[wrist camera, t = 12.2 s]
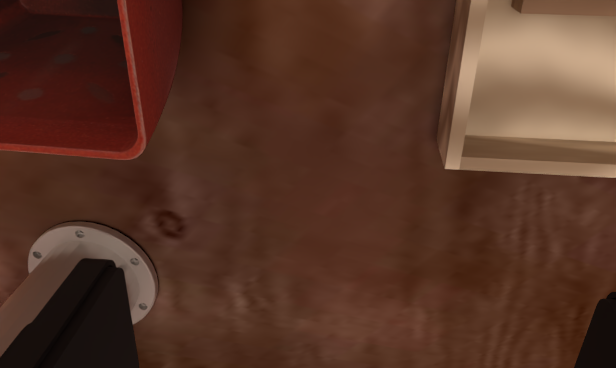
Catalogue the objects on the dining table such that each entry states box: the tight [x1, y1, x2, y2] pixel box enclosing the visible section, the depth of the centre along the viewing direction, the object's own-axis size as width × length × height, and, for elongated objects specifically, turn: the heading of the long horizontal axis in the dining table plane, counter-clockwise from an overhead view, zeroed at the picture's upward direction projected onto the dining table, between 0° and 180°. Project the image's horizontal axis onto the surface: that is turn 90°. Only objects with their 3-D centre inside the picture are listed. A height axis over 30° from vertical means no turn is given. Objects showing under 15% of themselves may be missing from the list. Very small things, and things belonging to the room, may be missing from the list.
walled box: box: [436, 0, 616, 178], centre depth 34 cm, size 20×16×5 cm
